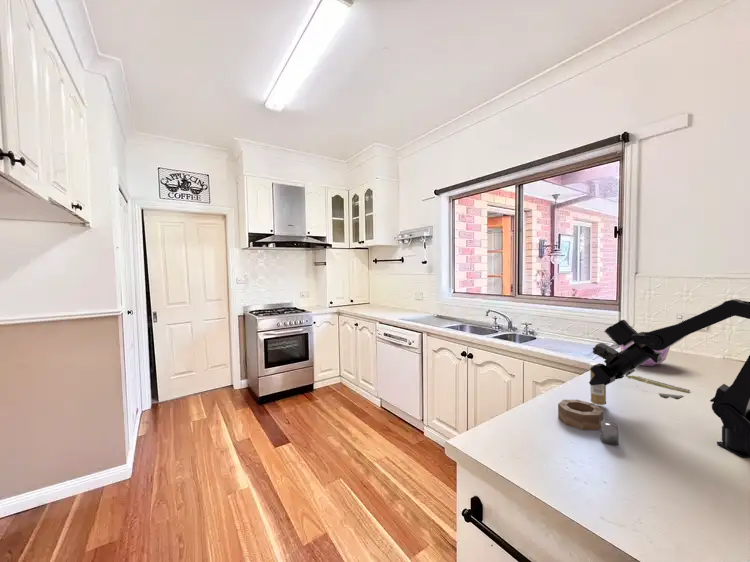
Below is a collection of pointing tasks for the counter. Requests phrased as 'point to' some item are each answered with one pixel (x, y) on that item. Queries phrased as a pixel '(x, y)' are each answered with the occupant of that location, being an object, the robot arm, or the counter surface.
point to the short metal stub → (610, 433)
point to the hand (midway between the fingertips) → (593, 382)
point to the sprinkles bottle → (597, 390)
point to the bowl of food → (650, 361)
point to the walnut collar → (580, 414)
